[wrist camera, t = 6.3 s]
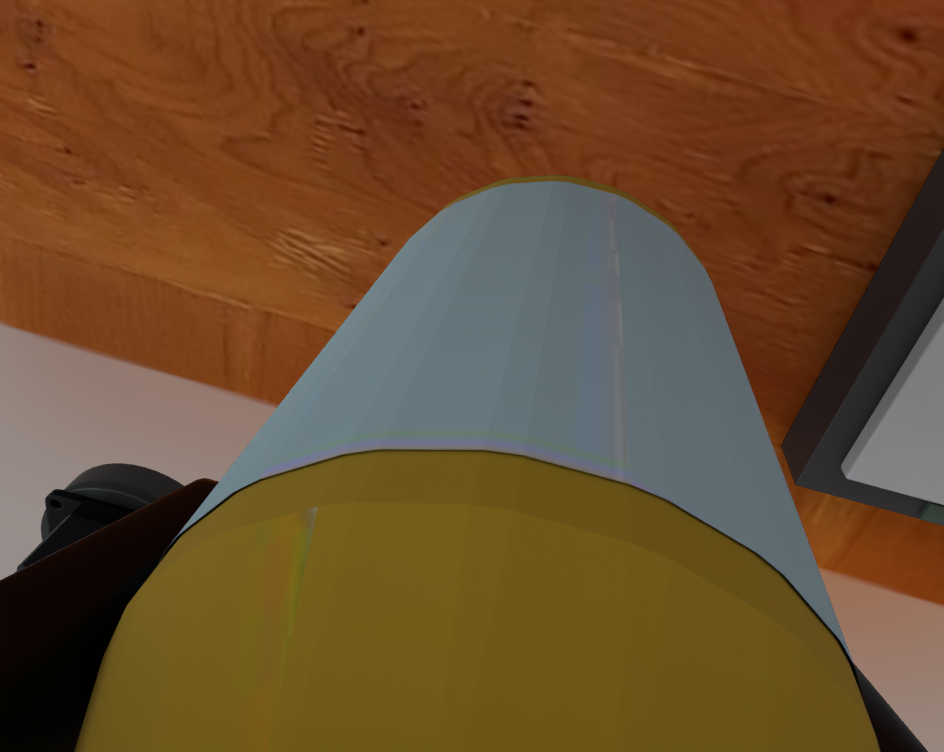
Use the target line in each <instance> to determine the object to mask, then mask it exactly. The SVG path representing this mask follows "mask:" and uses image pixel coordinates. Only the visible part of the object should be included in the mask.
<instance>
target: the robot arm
mask: <svg viewBox="0 0 944 752" xmlns="http://www.w3.org/2000/svg"><path fill="white" fill-rule="evenodd" d="M218 483H219V482H218V481H214V480H211V479H206V478H203V479H198V480H196V481H194V482H192V483H190V484H188V485H186V486H184V487H182V488H180V489H178V490H176V491H174V492H172V493H170V494H168V495H166V496H164V497H162V498H161V499H159V500H157V501H155V502H153V503H151V504H149V505H147V506H145V507H143V508H141V509H139V510H137V511H136V510H132V509H129V508H125V507H122V506H118V505H114V504H111V503H107V502H104V501H100V500H97V499H93V498H90V497H86V496H83V495H79V494H76V493H72V492H68V491H65V490H61V489H55V490H53V491H52V492H51V493H50V494H49V495H48V496H47V497H46V498H45V505H46V512H47V520H48V527H49V535H48V536H47V537H46V538H45V539H44V540H43V541H42V542H41V543H40V544H39V545H38V547H37V548H36V549H35V550H34V551H33V552H32V553H31V554H30V555H29V556H28V557H27V558H26V559H25V560H24V561H23V562H22V563H21V564H20V565H19V566H18V568H17V571H16V572H15V573H14V574H12V575H10V576H8V577H6V578H4V579H2V580H0V752H74V751H75V748H76V744H77V741H78V738H79V735H80V731H81V728H82V725H83V721H84V718H85V715H86V711H87V708H88V705H89V702H90V698H91V695H92V692H93V688H94V685H95V682H96V678H97V675H98V672H99V668H100V665H101V662H102V659H103V656H104V654H105V652H106V650H107V647H108V645H109V643H110V641H111V639H112V637H113V634H114V632H115V630H116V628H117V626H118V624H119V621H120V619H121V617H122V615H123V613H124V611H125V609H126V606H127V605H128V603H129V602H130V601H131V600H132V598H133V597H134V596H135V594H136V593H137V592H138V590H139V589H140V588H141V587H142V585H143V584H144V583H145V581H146V580H147V579H148V578H149V576H150V575H151V574H152V572H153V571H154V570H155V569H156V567H157V566H158V563H159V561H160V559H161V557H162V555H163V553H164V552H165V550H166V549H167V548H168V547H169V545H170V544H171V543H172V541H173V540H174V539H175V538H176V536H177V535H178V534H179V533H180V531H181V530H182V529H183V527H184V526H185V525H186V524H187V522H188V521H189V520H190V518H191V517H192V516H193V515H194V513H195V512H196V511H197V510H198V508H199V507H200V506H201V504H202V503H203V502H204V501H205V499H206V498H207V497H208V495H209V494H210V493H211V492H212V490H213V489H214V488H215V487H216V485H217V484H218ZM854 666H855V669H856V673H857V676H858V680H859V683H860V687H861V690H862V694H863V697H864V701H865V704H866V708H867V711H868V715H869V718H870V721H871V724H872V727H873V729H874V732H875V735H876V738H877V742H878V745H879V749H880V752H928V751H927V750H926V749H925V747H924V746H923V745H922V744H921V743H920V742H919V740H918V739H917V738H916V737H915V736H914V734H913V733H912V732H911V731H910V730H909V728H908V727H907V726H906V725H905V724H904V722H903V721H902V720H901V719H900V718H899V717H898V715H897V714H896V713H895V712H894V710H893V709H892V708H891V707H890V706H889V705H888V704H887V702H886V701H885V700H884V699H883V697H882V696H881V695H880V694H879V693H878V692H877V691H876V689H875V688H874V687H873V686H872V684H871V683H870V682H869V681H868V680H867V678H866V677H865V676H864V675H863V674H862V672H861V671H860V670H859V669H858V668H857V666H856V665H855V664H854Z"/></svg>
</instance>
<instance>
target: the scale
mask: <svg viewBox="0 0 944 752" xmlns="http://www.w3.org/2000/svg"><path fill="white" fill-rule="evenodd" d="M781 447H782V449H783V452H784V455H785V458H786V460H787V463H788V466H789V469H790V471H791V474H792V477H793V480H794V482H795V484H796V485H797V486H801V487H805V488H808V489H812V490H816V491H819V492H823V493H827V494H830V495H834V496H838V497H841V498H845V499H849V500H853V501H856V502H860V503H864V504H867V505H871V506H875V507H878V508H882V509H886V510H889V511H893V512H897V513H900V514H904V515H908V516H911V517H915V518H919V519H921V520H925V521H928V522H932V523H936V524H939V525H943V526H944V149H943V151H942V153H941V155H940V157H939V158H938V160H937V162H936V164H935V166H934V168H933V169H932V171H931V173H930V175H929V177H928V178H927V180H926V182H925V184H924V186H923V188H922V189H921V191H920V193H919V195H918V197H917V199H916V200H915V202H914V204H913V206H912V208H911V209H910V211H909V213H908V215H907V217H906V219H905V220H904V222H903V224H902V226H901V228H900V230H899V231H898V233H897V235H896V237H895V239H894V240H893V242H892V244H891V246H890V248H889V250H888V251H887V253H886V255H885V257H884V259H883V261H882V262H881V264H880V266H879V268H878V270H877V271H876V273H875V275H874V277H873V279H872V281H871V282H870V284H869V286H868V288H867V290H866V292H865V293H864V295H863V297H862V299H861V301H860V302H859V304H858V306H857V308H856V310H855V312H854V313H853V315H852V317H851V319H850V321H849V323H848V324H847V326H846V328H845V330H844V332H843V333H842V335H841V337H840V339H839V341H838V343H837V344H836V346H835V348H834V350H833V352H832V354H831V355H830V357H829V359H828V361H827V363H826V364H825V366H824V368H823V370H822V372H821V374H820V375H819V377H818V379H817V381H816V383H815V385H814V386H813V388H812V390H811V392H810V394H809V396H808V397H807V399H806V401H805V403H804V405H803V406H802V408H801V410H800V412H799V414H798V416H797V417H796V419H795V421H794V423H793V425H792V427H791V428H790V430H789V432H788V434H787V436H786V437H785V439H784V441H783V443H782V445H781Z"/></svg>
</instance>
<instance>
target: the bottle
mask: <svg viewBox="0 0 944 752" xmlns="http://www.w3.org/2000/svg"><path fill="white" fill-rule="evenodd" d="M74 752H880V749H879V745H878V742H877V738H876V735H875V732H874V729H873V727H872V724H871V721H870V718H869V715H868V711H867V708H866V704H865V701H864V697H863V694H862V690H861V687H860V683H859V680H858V676H857V673H856V669H855V666H854V663H853V660H852V658H851V655H850V652H849V650H848V647H847V645H846V642H845V639H844V636H843V634H842V631H841V628H840V625H839V623H838V620H837V618H836V615H835V612H834V610H833V607H832V604H831V601H830V599H829V596H828V593H827V591H826V588H825V585H824V583H823V580H822V577H821V574H820V572H819V569H818V566H817V564H816V561H815V558H814V555H813V553H812V550H811V547H810V545H809V542H808V539H807V537H806V534H805V531H804V529H803V526H802V523H801V521H800V518H799V515H798V512H797V510H796V507H795V504H794V502H793V499H792V496H791V494H790V491H789V488H788V486H787V483H786V480H785V477H784V475H783V472H782V469H781V467H780V464H779V461H778V459H777V456H776V453H775V451H774V448H773V445H772V443H771V440H770V437H769V434H768V432H767V429H766V426H765V424H764V421H763V418H762V416H761V413H760V410H759V408H758V405H757V402H756V399H755V397H754V394H753V391H752V389H751V386H750V383H749V381H748V378H747V375H746V373H745V370H744V367H743V365H742V362H741V359H740V356H739V354H738V351H737V348H736V346H735V343H734V340H733V338H732V335H731V332H730V330H729V327H728V324H727V321H726V319H725V316H724V313H723V311H722V308H721V305H720V303H719V300H718V297H717V295H716V292H715V289H714V287H713V284H712V282H711V280H710V278H709V276H708V274H707V272H706V270H705V268H704V267H703V265H702V263H701V261H700V259H699V258H698V256H697V255H696V254H695V252H694V251H693V250H692V249H691V247H690V246H689V245H688V243H687V242H686V241H685V239H684V238H683V237H682V236H681V234H680V233H679V232H678V230H677V229H676V228H675V227H674V226H673V225H672V224H671V223H670V222H669V221H668V220H667V219H666V218H665V217H663V216H662V215H660V214H659V213H657V212H656V211H654V210H653V209H651V208H650V207H648V206H646V205H645V204H643V203H642V202H640V201H639V200H637V199H636V198H634V197H633V196H631V195H629V194H628V193H626V192H623V191H621V190H619V189H616V188H614V187H611V186H607V185H603V184H599V183H595V182H591V181H587V180H583V179H579V178H575V177H572V176H561V175H548V176H533V177H519V178H510V179H506V180H501V181H497V182H495V183H492V184H490V185H488V186H485V187H483V188H480V189H478V190H475V191H473V192H470V193H468V194H466V195H463V196H461V197H459V198H457V199H455V200H454V201H452V202H451V203H449V204H447V205H446V206H445V207H444V208H443V209H442V210H440V211H439V212H438V213H437V214H436V215H435V216H434V217H432V218H431V219H430V220H429V221H428V222H427V223H426V224H425V225H423V226H422V227H421V228H420V229H419V230H418V231H417V232H416V233H415V234H414V235H413V236H412V237H411V238H410V239H409V240H408V241H407V242H406V244H405V245H404V246H403V247H402V249H401V250H400V251H399V253H398V254H397V255H396V256H395V258H394V259H393V260H392V261H391V263H390V264H389V265H388V267H387V268H386V269H385V270H384V272H383V273H382V274H381V276H380V277H379V278H378V279H377V281H376V282H375V283H374V284H373V286H372V287H371V288H370V290H369V291H368V292H367V293H366V295H365V296H364V297H363V299H362V300H361V301H360V302H359V304H358V305H357V306H356V307H355V309H354V310H353V311H352V313H351V314H350V315H349V316H348V318H347V319H346V320H345V322H344V323H343V324H342V325H341V327H340V328H339V329H338V331H337V332H336V333H335V334H334V336H333V337H332V338H331V339H330V341H329V342H328V343H327V345H326V346H325V347H324V348H323V350H322V351H321V352H320V354H319V355H318V356H317V357H316V359H315V360H314V361H313V362H312V364H311V365H310V366H309V368H308V369H307V370H306V371H305V373H304V374H303V375H302V377H301V378H300V379H299V380H298V382H297V383H296V384H295V385H294V387H293V388H292V389H291V391H290V392H289V393H288V394H287V396H286V397H285V398H284V400H283V401H282V402H281V403H280V405H279V406H278V407H277V409H276V410H275V411H274V413H273V414H272V415H271V416H270V417H269V419H268V420H267V421H266V423H265V424H264V425H263V426H262V428H261V429H260V430H259V432H258V433H257V434H256V435H255V437H254V438H253V439H252V441H251V442H250V443H249V444H248V446H247V447H246V448H245V450H244V451H243V452H242V453H241V455H240V456H239V457H238V458H237V460H236V461H235V462H234V463H233V465H232V466H231V467H230V469H229V470H228V471H227V473H226V474H225V475H224V476H223V478H222V479H221V480H220V481H219V483H218V484H217V485H216V487H215V488H214V489H213V490H212V492H211V493H210V494H209V495H208V497H207V498H206V499H205V501H204V502H203V503H202V504H201V506H200V507H199V508H198V510H197V511H196V512H195V513H194V515H193V516H192V517H191V518H190V520H189V521H188V522H187V524H186V525H185V526H184V527H183V529H182V530H181V531H180V533H179V534H178V535H177V536H176V538H175V539H174V540H173V541H172V543H171V544H170V545H169V547H168V548H167V549H166V550H165V552H164V553H163V555H162V557H161V559H160V561H159V563H158V566H157V567H156V569H155V570H154V571H153V572H152V574H151V575H150V576H149V578H148V579H147V580H146V581H145V583H144V584H143V585H142V587H141V588H140V589H139V590H138V592H137V593H136V594H135V596H134V597H133V598H132V600H131V601H130V602H129V603H128V605H127V606H126V609H125V611H124V613H123V615H122V617H121V619H120V621H119V624H118V626H117V628H116V630H115V632H114V634H113V637H112V639H111V641H110V643H109V645H108V647H107V650H106V652H105V654H104V656H103V659H102V662H101V665H100V668H99V672H98V675H97V678H96V682H95V685H94V688H93V692H92V695H91V698H90V702H89V705H88V708H87V711H86V715H85V718H84V721H83V725H82V728H81V731H80V735H79V738H78V741H77V744H76V748H75V751H74Z"/></svg>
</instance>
